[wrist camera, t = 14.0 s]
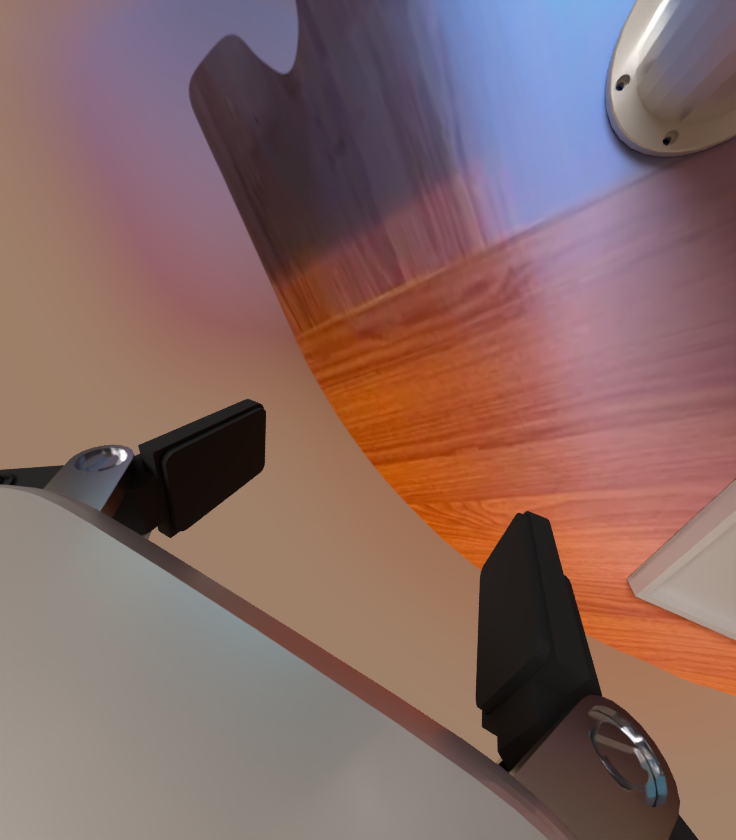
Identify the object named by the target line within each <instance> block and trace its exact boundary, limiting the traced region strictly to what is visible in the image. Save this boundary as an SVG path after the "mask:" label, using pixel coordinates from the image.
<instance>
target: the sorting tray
mask: <svg viewBox="0 0 736 840" xmlns="http://www.w3.org/2000/svg"><path fill="white" fill-rule="evenodd" d="M627 580H628V582H629V584H630V587H631V589H632V591H633V593H634V595H635V596H636V597H638V598H640V599H643V600H645V601H647V602H650V603H652V604H654V605H656V606H659V607H661V608H663V609H665V610H668V611H670V612H672V613H675V614H677V615H679V616H681V617H684V618H686V619H688V620H691V621H693V622H695V623H697V624H700V625H702V626H704V627H707V628H709V629H711V630H713V631H716V632H718V633H720V634H722V635H725V636H727V637H729V638H732V639H734V640H736V479H735V480H734V481H733V482H732V483H731V484H730V485H729V486H728V487H727V488H725V489H724V490H723V491H722V492H721V493H720V494H719V495H718V496H717V497H716V498H715V499H713V500H712V501H711V502H710V503H709V504H708V505H707V506H706V507H705V508H704V509H703V510H701V511H700V512H699V513H698V514H697V515H696V516H695V517H694V518H693V519H692V520H690V521H689V522H688V523H687V524H686V525H685V526H684V527H683V528H682V529H681V530H680V531H678V532H677V533H676V534H675V535H674V536H673V537H672V538H671V539H670V540H669V541H668V542H666V543H665V544H664V545H663V546H662V547H661V548H660V549H659V550H658V551H657V552H656V553H654V554H653V555H652V556H651V557H650V558H649V559H648V560H647V561H646V562H645V563H644V564H642V565H641V566H640V567H639V568H638V569H637V570H636V571H635V572H634V573H633V574H632V575H630V576H629V577H628V578H627Z"/></svg>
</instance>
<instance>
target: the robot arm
mask: <svg viewBox="0 0 736 840" xmlns="http://www.w3.org/2000/svg"><path fill="white" fill-rule="evenodd" d="M618 86H621V87H622V91H617V90H616V87H618ZM605 96H606V109H607V113H608V116H609V120H610V123H611V126H612V128H613V129H614V131H615V132H616V134H617V135H618V137H619V138H620V139H621V140H622V141H623V142H624V143H625V144H627V145H628V146H629V147H630V148H632V149H634V150H636V151H639V152H641V153H643V154H646V155H653V156H659V157H669V156H682V155H686V154H691V153H695V152H699V151H703V150H705V149H708V148H710V147H713V146H715V145H718V144H721V143H723V142H725V141H727V140H729V139H731V138H733V137H734V136H736V0H636V1H635V3H634V5H633V7H632V9H631V11H630V13H629V15H628V17H627V19H626V21H625V23H624V25H623V27H622V30H621V32H620V34H619V37H618V39H617V42H616V44H615V47H614V49H613V53H612V56H611V60H610V64H609V68H608V71H607V80H606V89H605ZM665 139H667V140H668V145H667V146H666V145H664V144H663V140H665ZM265 430H266V411H265V410H264V407H263V405H262V404H260V403H257V402H255V401H252V400H250V399H246V400H243V401H241V402H239V403H236V404H234V405H232V406H229V407H227V408H225V409H222V410H220V411H218V412H215V413H213V414H211V415H208V416H206V417H204V418H201V419H199V420H197V421H194V422H192V423H190V424H187V425H185V426H182V427H180V428H178V429H176V430H173V431H171V432H168V433H166V434H164V435H161V436H159V437H157V438H154V439H152V440H150V441H147V442H145V443H143V444H140V445H138V446H139V450H140V454H138V455H136V456H134V453H133V450H132V449H130V448H129V447H126V446H121V445H104V446H99V447H94V448H91V449H88V450H85V451H82V452H80V453H78V454H76V455H75V456H73V457H72V458H71V459H70V460H69V461H68V462H67V463H66V464H65V465H62V466H48V467H34V468H20V469H6V470H0V840H698V839H697V837H696V836H695V835H694V833H693V832H692V831H691V829H690V828H689V827H688V826H687V825H686V823H685V822H684V820H683V819H682V818H681V817H680V815H679V806H680V800H679V795H678V790H677V786H676V782H675V780H674V778H673V775H672V773H671V771H670V768H669V766H668V764H667V762H666V760H665V759H664V757H663V755H662V754H661V752H660V750H659V749H658V747H657V745H656V744H655V742H654V741H653V740H652V739H651V737H650V736H649V735H648V734H647V732H646V731H645V730H644V728H643V727H642V726H641V725H640V724H639V723H638V722H637V721H636V720H635V719H634V718H633V717H632V716H631V715H630V714H629V713H628V712H627V711H626V710H624V709H623V708H622V707H620V706H619V705H617V704H616V703H615V702H613V701H611V700H609V699H607V698H605V697H602V693H601V690H600V686H599V682H598V679H597V675H596V672H595V668H594V664H593V661H592V657H591V654H590V650H589V647H588V643H587V639H586V636H585V632H584V629H583V625H582V622H581V618H580V614H579V611H578V607H577V604H576V600H575V596H574V593H573V589H572V586H571V583H570V581H569V579H568V578H567V577H566V576H565V575H564V574H563V570H562V566H561V563H560V559H559V555H558V551H557V547H556V544H555V540H554V536H553V532H552V528H551V525H550V522H549V520H548V519H546V518H544V517H541V516H539V515H536V514H534V513H531V512H529V511H526V512H525V513H524V514H521V513H517V514H516V516H515V517H514V519H513V520H512V522H511V523H510V525H509V527H508V528H507V530H506V531H505V533H504V534H503V536H502V538H501V539H500V541H499V542H498V544H497V545H496V547H495V548H494V550H493V552H492V553H491V555H490V556H489V558H488V559H487V561H486V563H485V564H484V566H483V568H482V571H481V575H480V593H479V622H478V648H477V676H476V705H477V707H478V708H480V709H481V710H482V727H483V728H484V729H486V730H488V731H489V732H491V733H492V734H494V735H496V736H497V737H498V738H497V739H498V740H497V742H498V753H499V755H500V756H501V758H500V759H499V760H498V761H497V762H496V763H495V762H493V761H492V760H491V759H489V758H488V757H487V756H485V755H484V754H482V753H481V752H480V751H478V750H477V749H476V748H474V747H473V746H471V745H470V744H468V743H467V742H466V741H464V740H463V739H462V738H460V737H458V736H457V735H456V734H454V733H453V732H451V731H449V730H448V729H446V728H445V727H443V726H442V725H440V724H439V723H437V722H436V721H434V720H433V719H431V718H430V717H428V716H427V715H425V714H424V713H422V712H421V711H419V710H417V709H416V708H415V707H413V706H411V705H410V704H408V703H407V702H405V701H404V700H402V699H401V698H399V697H398V696H396V695H395V694H393V693H392V692H390V691H388V690H387V689H385V688H384V687H382V686H381V685H379V684H378V683H376V682H374V681H373V680H371V679H370V678H368V677H367V676H365V675H363V674H362V673H360V672H358V671H357V670H355V669H354V668H352V667H351V666H349V665H348V664H346V663H344V662H343V661H341V660H339V659H338V658H336V657H335V656H333V655H332V654H330V653H329V652H327V651H325V650H324V649H322V648H321V647H319V646H318V645H316V644H314V643H313V642H311V641H310V640H308V639H306V638H305V637H303V636H302V635H300V634H298V633H297V632H295V631H294V630H292V629H291V628H289V627H287V626H286V625H284V624H283V623H281V622H279V621H278V620H276V619H275V618H273V617H271V616H270V615H268V614H266V613H265V612H263V611H262V610H260V609H259V608H257V607H255V606H254V605H252V604H251V603H249V602H247V601H246V600H244V599H243V598H241V597H239V596H238V595H236V594H235V593H233V592H231V591H230V590H228V589H227V588H225V587H223V586H221V585H220V584H219V583H217V582H215V581H214V580H212V579H211V578H209V577H207V576H206V575H204V574H202V573H201V572H199V571H198V570H196V569H194V568H193V567H191V566H190V565H188V564H186V563H185V562H183V561H182V560H180V559H178V558H177V557H175V556H173V555H172V554H170V553H168V552H167V551H165V550H164V549H162V548H160V547H159V546H157V545H156V544H154V543H152V542H151V541H149V540H148V539H149V536H150V533H151V531H152V530H153V529H154V528H155V527H157V526H158V530H159V531H160V532H161V533H163V534H165V535H166V536H168V537H169V538H171V537H173V536H174V535H176V534H177V533H178V532H180V531H184V530H186V529H188V528H189V527H191V526H192V525H193V524H194V523H196V522H197V521H198V520H200V519H201V518H202V517H203V516H204V515H206V514H207V513H209V512H210V511H211V510H212V509H214V508H215V507H216V506H217V505H219V504H220V503H222V502H223V501H224V500H225V499H227V498H228V497H229V496H231V495H232V494H233V493H234V492H236V491H237V490H238V489H239V488H241V487H242V486H244V485H245V484H246V483H247V482H249V481H250V480H251V479H253V478H254V477H255V476H256V475H258V474H259V473H260V472H261V471H262V470H263V468H264V465H265V433H266V431H265Z"/></svg>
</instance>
